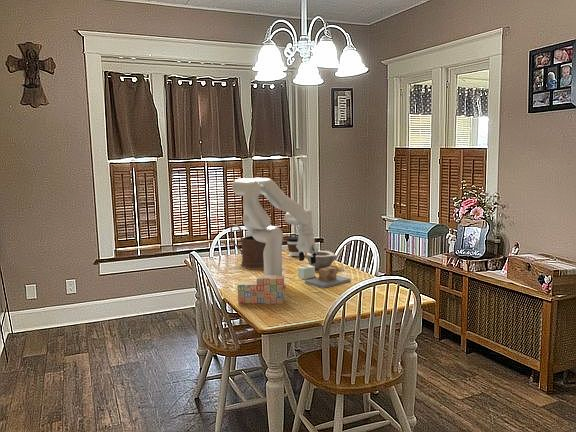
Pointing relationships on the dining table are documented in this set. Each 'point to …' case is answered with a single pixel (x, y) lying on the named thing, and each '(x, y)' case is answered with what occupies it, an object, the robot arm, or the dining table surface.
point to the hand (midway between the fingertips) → (307, 262)
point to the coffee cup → (292, 245)
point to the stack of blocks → (262, 290)
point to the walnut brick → (327, 274)
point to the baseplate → (328, 283)
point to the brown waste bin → (251, 251)
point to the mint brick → (306, 272)
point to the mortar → (322, 259)
